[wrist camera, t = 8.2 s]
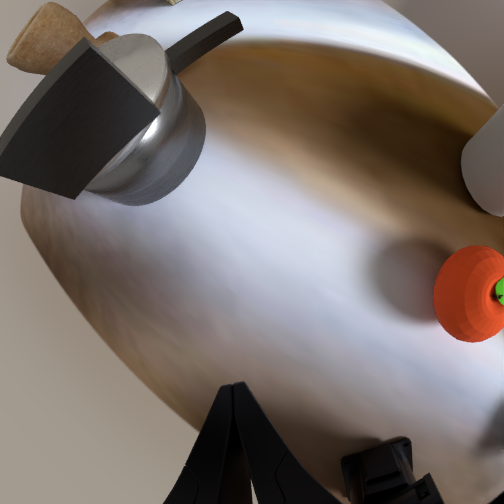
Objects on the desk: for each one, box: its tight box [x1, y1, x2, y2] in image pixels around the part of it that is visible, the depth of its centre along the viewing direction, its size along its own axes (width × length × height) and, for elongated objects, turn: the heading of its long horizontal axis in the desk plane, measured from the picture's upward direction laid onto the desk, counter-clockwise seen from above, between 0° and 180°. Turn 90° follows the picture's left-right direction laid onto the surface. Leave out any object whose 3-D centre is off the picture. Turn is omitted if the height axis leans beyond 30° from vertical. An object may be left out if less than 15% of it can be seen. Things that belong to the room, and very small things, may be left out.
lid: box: [0, 34, 171, 200], centre depth 14 cm, size 14×14×8 cm
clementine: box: [433, 246, 504, 343], centre depth 16 cm, size 8×7×7 cm
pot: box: [84, 11, 244, 206], centre depth 22 cm, size 13×20×8 cm, turn 126°
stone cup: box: [6, 2, 119, 75], centre depth 23 cm, size 15×12×15 cm
